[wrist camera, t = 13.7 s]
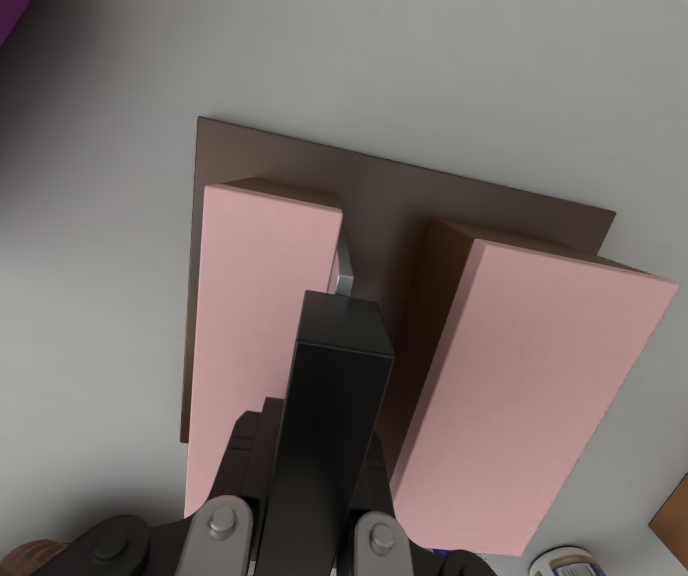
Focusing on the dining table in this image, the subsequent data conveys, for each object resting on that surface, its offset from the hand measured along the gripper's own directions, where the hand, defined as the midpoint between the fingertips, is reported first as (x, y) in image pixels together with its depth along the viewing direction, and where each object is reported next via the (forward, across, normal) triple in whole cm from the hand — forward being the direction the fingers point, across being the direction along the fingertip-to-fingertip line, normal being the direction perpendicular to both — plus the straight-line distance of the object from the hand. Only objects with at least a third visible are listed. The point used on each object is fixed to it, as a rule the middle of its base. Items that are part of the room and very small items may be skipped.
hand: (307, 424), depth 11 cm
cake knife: (+5, 0, 0) cm, 5 cm away
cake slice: (+7, +2, 0) cm, 7 cm away
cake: (+7, -8, 0) cm, 10 cm away
